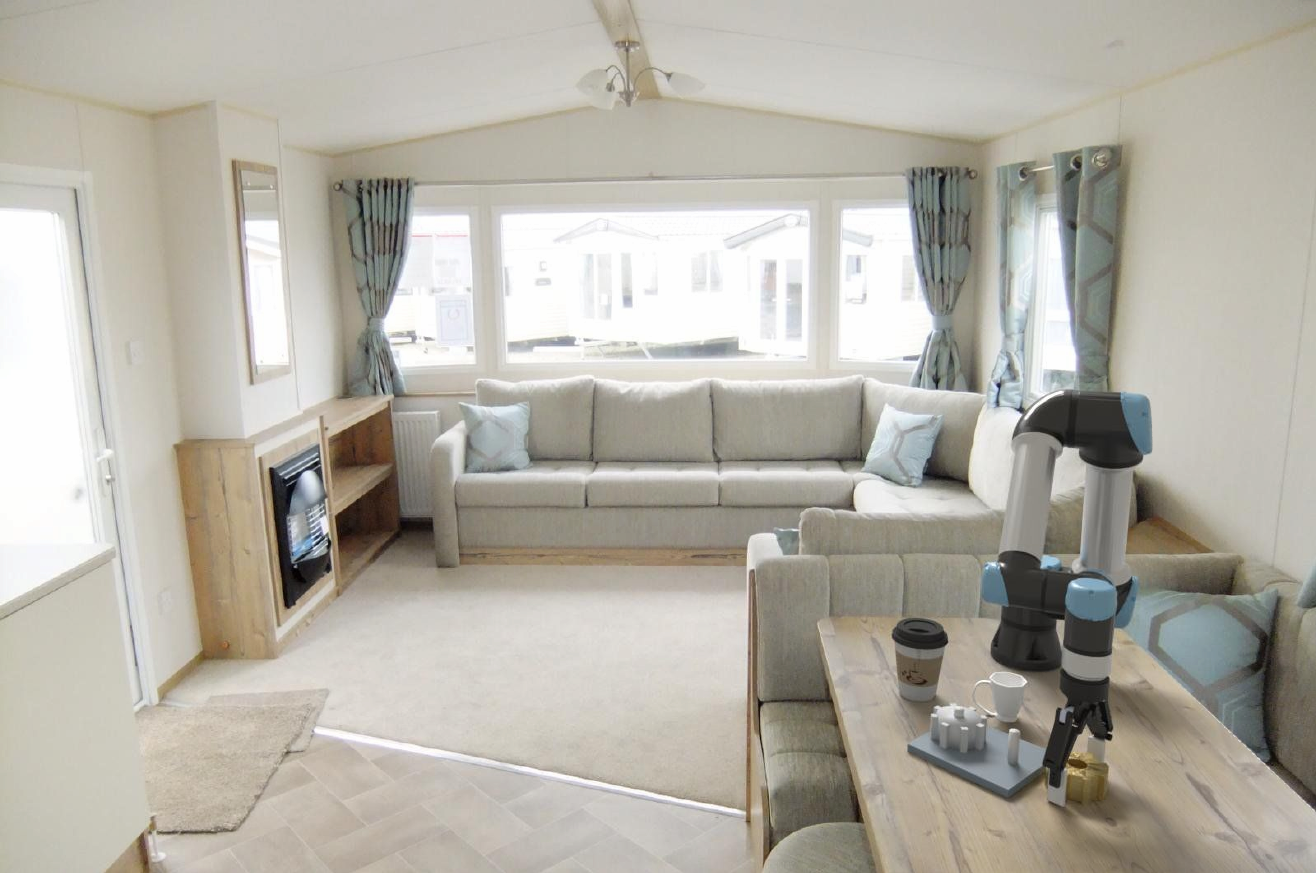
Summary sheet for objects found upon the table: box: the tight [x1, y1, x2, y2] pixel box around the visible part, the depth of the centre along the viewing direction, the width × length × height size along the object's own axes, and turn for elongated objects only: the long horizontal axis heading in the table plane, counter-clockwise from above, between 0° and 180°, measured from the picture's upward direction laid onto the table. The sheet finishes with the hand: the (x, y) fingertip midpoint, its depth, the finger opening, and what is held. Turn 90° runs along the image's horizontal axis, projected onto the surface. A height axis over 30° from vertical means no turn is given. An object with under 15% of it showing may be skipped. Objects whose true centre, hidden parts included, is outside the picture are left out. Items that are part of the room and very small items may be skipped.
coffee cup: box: [891, 617, 949, 703], centre depth 193 cm, size 11×11×15 cm
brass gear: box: [1044, 750, 1110, 806], centre depth 160 cm, size 10×10×4 cm
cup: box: [971, 671, 1028, 723], centre depth 184 cm, size 7×10×8 cm
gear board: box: [907, 703, 1046, 799], centre depth 169 cm, size 17×20×8 cm
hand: (1075, 787), depth 160 cm, fingers open, 13 cm apart
